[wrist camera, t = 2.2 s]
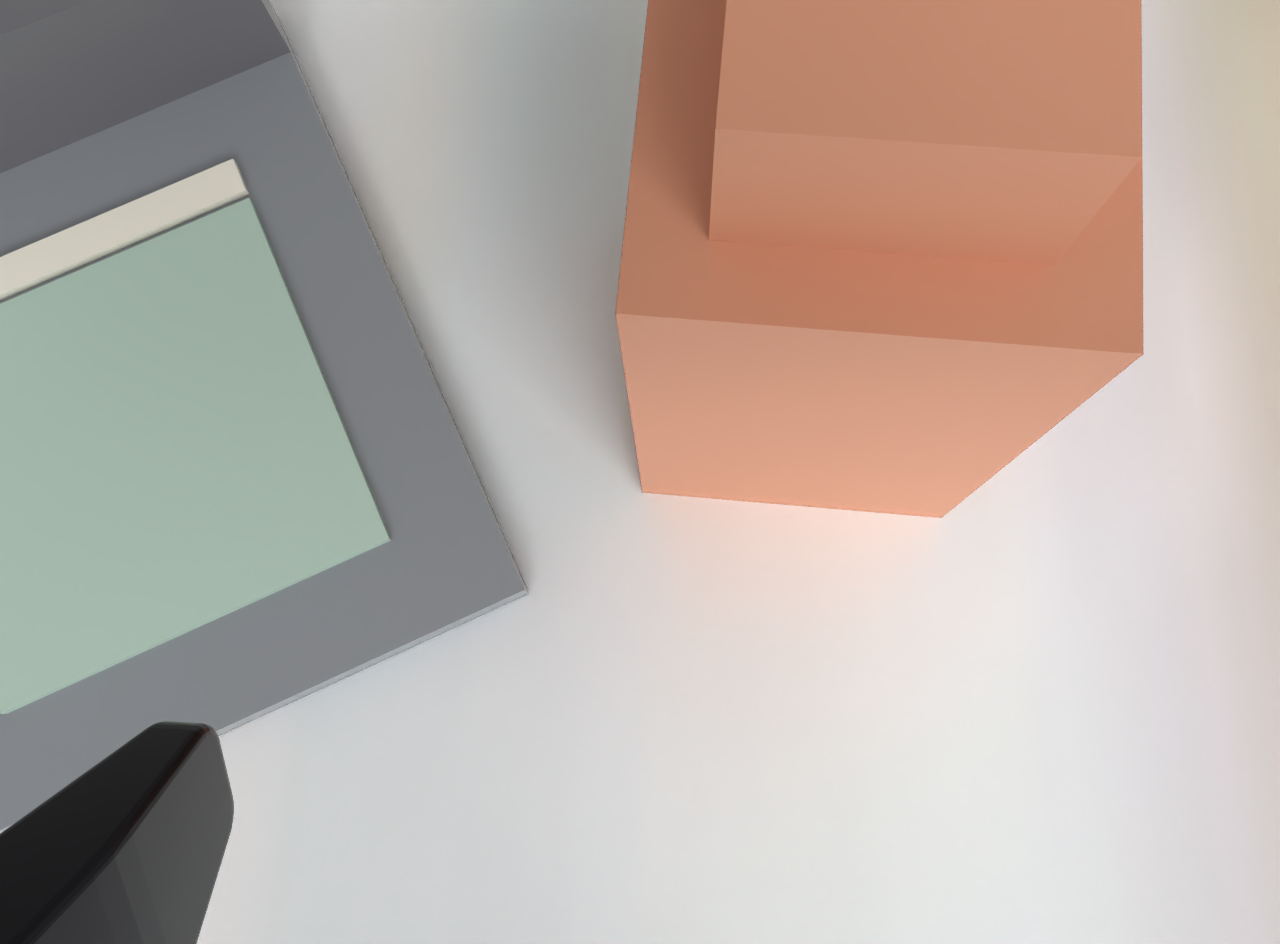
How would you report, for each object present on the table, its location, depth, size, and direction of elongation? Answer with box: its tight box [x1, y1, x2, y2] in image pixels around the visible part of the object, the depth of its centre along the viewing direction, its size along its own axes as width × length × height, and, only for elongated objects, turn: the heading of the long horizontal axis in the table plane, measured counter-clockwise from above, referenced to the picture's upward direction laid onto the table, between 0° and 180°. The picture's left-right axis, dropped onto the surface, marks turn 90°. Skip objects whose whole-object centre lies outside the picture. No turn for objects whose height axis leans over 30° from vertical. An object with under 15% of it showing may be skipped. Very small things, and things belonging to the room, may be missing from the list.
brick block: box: [616, 0, 1143, 518], centre depth 17 cm, size 6×6×12 cm
